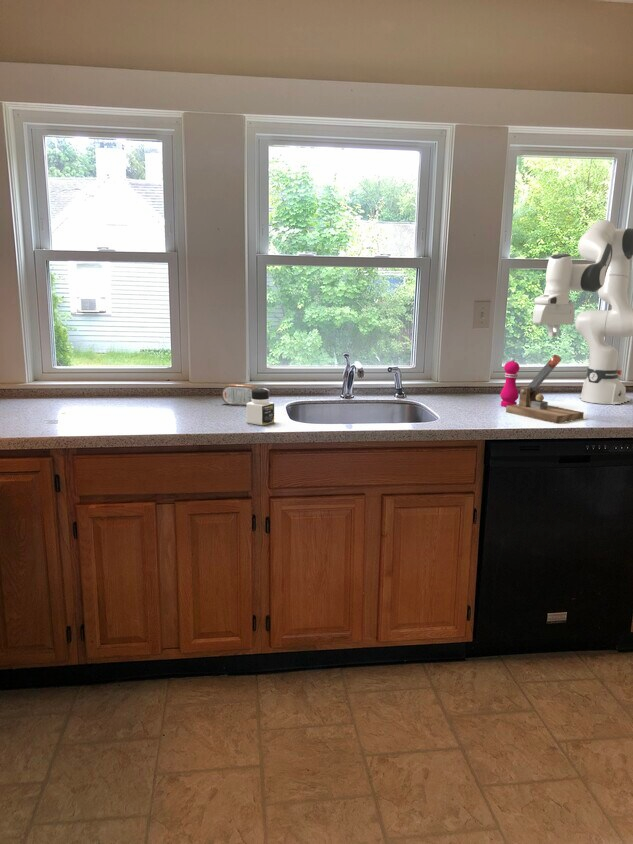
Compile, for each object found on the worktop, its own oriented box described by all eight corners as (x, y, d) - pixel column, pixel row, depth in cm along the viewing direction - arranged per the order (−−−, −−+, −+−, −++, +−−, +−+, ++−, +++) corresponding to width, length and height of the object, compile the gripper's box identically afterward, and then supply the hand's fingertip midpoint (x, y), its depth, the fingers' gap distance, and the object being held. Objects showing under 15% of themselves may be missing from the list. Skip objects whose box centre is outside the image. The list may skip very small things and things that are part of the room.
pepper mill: (518, 408, 256) (522, 359, 252) (500, 407, 257) (504, 358, 253) (516, 404, 263) (520, 357, 259) (498, 403, 264) (502, 356, 260)
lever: (524, 399, 247) (520, 393, 249) (530, 398, 249) (525, 392, 251) (557, 360, 233) (552, 354, 235) (562, 360, 235) (557, 354, 237)
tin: (259, 405, 253) (259, 384, 251) (257, 406, 250) (257, 385, 248) (223, 403, 255) (223, 383, 254) (220, 405, 252) (220, 384, 250)
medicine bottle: (262, 425, 217) (262, 391, 215) (246, 423, 221) (245, 389, 218) (274, 422, 223) (274, 388, 221) (258, 419, 227) (258, 386, 224)
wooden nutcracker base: (532, 408, 256) (534, 383, 254) (582, 418, 238) (585, 392, 235) (505, 412, 248) (508, 386, 246) (556, 423, 229) (558, 396, 227)
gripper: (566, 299, 241) (562, 335, 244) (531, 298, 230) (527, 336, 233) (580, 299, 236) (576, 336, 239) (545, 299, 225) (542, 338, 228)
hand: (552, 336), depth 236 cm, fingers closed
